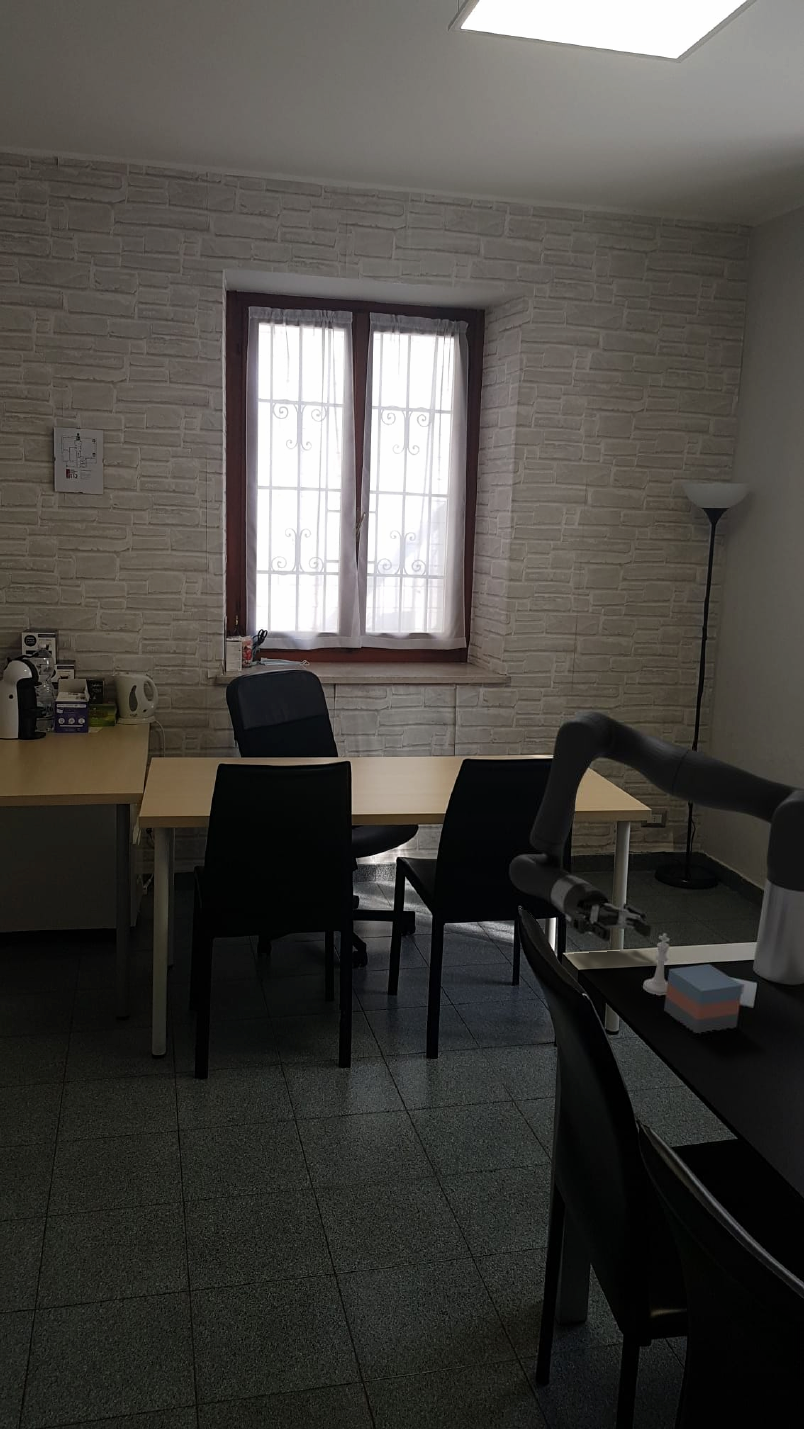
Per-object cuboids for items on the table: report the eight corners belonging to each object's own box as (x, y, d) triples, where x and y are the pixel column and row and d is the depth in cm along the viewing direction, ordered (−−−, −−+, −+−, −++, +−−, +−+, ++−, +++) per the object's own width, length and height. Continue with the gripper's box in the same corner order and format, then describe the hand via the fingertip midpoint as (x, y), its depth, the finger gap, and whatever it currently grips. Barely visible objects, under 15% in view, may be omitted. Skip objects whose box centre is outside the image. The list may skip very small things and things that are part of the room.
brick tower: (663, 1010, 173) (669, 969, 172) (703, 1004, 177) (709, 964, 175) (695, 1033, 166) (701, 991, 165) (736, 1027, 170) (742, 985, 168)
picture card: (715, 975, 188) (715, 973, 188) (756, 984, 186) (757, 982, 186) (709, 998, 179) (710, 995, 179) (753, 1008, 177) (753, 1005, 177)
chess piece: (665, 998, 178) (672, 942, 176) (637, 988, 181) (645, 933, 179) (677, 989, 182) (684, 934, 180) (650, 980, 185) (657, 925, 183)
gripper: (548, 884, 200) (597, 917, 185) (612, 879, 205) (664, 910, 191) (544, 922, 201) (592, 957, 187) (608, 916, 207) (659, 949, 192)
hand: (629, 933), depth 189 cm, fingers open, 8 cm apart
